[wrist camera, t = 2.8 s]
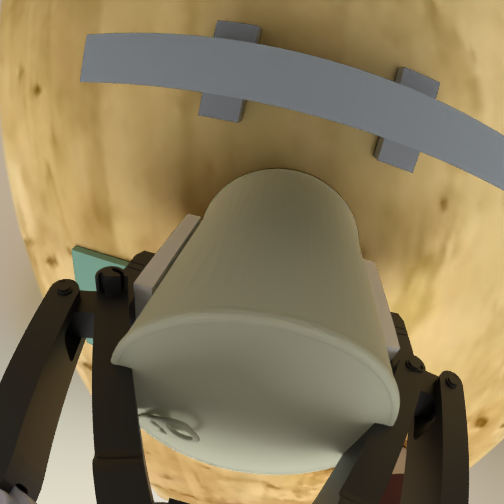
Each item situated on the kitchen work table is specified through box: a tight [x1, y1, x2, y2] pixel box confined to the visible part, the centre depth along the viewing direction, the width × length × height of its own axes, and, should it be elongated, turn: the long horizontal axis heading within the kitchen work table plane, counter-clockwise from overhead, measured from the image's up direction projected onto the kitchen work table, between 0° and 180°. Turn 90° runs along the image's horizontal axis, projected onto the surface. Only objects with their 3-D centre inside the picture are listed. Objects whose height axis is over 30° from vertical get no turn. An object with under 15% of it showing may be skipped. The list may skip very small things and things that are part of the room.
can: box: [111, 169, 400, 475], centre depth 14 cm, size 9×9×12 cm
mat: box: [72, 246, 129, 345], centre depth 23 cm, size 10×10×1 cm
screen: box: [80, 20, 504, 190], centre depth 10 cm, size 5×12×10 cm, turn 79°
